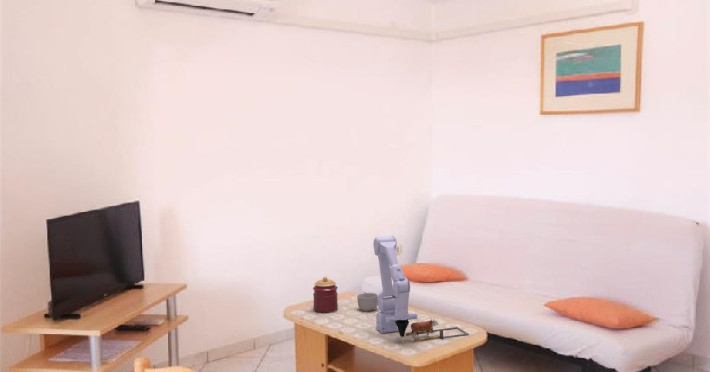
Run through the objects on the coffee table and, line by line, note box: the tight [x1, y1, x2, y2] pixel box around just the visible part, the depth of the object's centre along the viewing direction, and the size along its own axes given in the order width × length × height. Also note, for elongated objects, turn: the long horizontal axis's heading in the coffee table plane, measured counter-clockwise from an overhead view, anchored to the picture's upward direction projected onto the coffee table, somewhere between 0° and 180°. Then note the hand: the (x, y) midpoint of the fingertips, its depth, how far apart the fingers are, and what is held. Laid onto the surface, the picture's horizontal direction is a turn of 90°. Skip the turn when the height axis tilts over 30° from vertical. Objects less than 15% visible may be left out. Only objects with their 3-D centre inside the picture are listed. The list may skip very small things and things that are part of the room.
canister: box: [312, 276, 339, 314], centre depth 325 cm, size 13×13×18 cm
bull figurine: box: [410, 317, 440, 339], centre depth 280 cm, size 4×13×8 cm, turn 106°
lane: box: [432, 326, 470, 339], centre depth 284 cm, size 13×11×1 cm
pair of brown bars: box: [405, 327, 444, 343], centre depth 280 cm, size 14×12×4 cm
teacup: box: [356, 292, 379, 312], centre depth 325 cm, size 14×11×8 cm
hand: (401, 336), depth 277 cm, fingers closed
